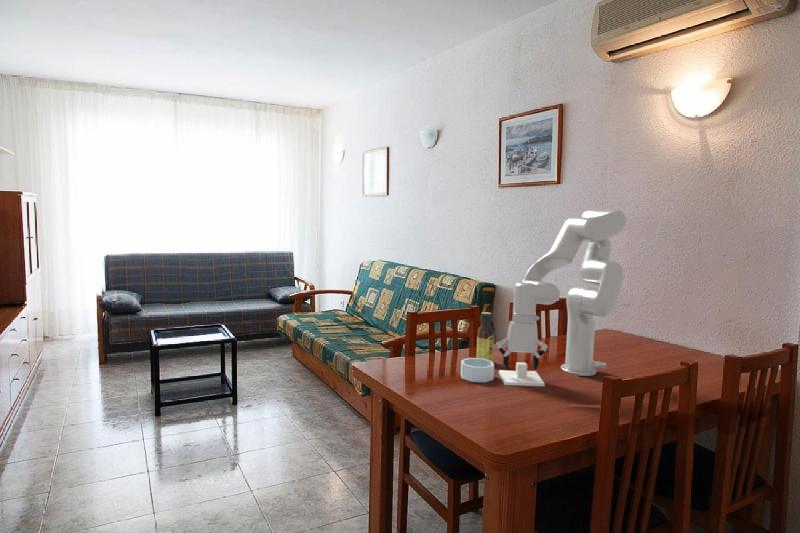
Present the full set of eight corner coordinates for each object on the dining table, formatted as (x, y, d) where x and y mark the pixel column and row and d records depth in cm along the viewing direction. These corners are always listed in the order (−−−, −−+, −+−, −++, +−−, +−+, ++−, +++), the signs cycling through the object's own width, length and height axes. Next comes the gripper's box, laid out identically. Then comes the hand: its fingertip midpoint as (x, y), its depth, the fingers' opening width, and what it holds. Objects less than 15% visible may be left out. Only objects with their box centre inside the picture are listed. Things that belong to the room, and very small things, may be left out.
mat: (535, 375, 189) (536, 373, 189) (545, 389, 175) (545, 386, 175) (497, 374, 189) (497, 372, 189) (504, 387, 175) (504, 385, 175)
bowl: (489, 374, 189) (490, 358, 188) (494, 385, 178) (495, 367, 177) (459, 373, 189) (460, 357, 188) (462, 384, 178) (463, 366, 178)
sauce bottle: (492, 367, 198) (494, 315, 195) (475, 366, 199) (477, 314, 197) (492, 362, 204) (495, 311, 202) (476, 361, 205) (478, 310, 203)
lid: (535, 373, 188) (536, 358, 188) (544, 386, 176) (545, 370, 175) (498, 372, 189) (499, 357, 188) (505, 384, 176) (505, 368, 175)
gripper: (546, 317, 183) (542, 366, 185) (496, 315, 184) (493, 363, 185) (552, 322, 176) (548, 372, 178) (499, 319, 176) (496, 369, 178)
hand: (520, 367), depth 181 cm, fingers open, 9 cm apart
